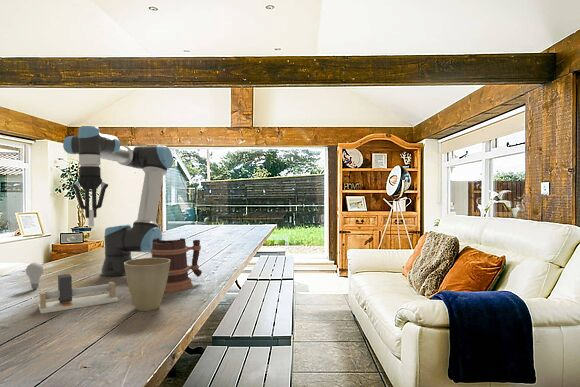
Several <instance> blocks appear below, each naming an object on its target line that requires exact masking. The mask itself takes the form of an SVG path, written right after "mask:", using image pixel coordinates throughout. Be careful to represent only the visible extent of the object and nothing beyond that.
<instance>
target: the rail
mask: <svg viewBox="0 0 580 387" xmlns="http://www.w3.org/2000/svg"><path fill="white" fill-rule="evenodd" d="M116 289H117V288H116V283H115V282H114V281H108V283H104V284H99V285H98V284H97V285H91V286H83V287H75V288H74V287H73V288H72V297H73V296H78V295H81V297H75V298H72V301H70V302H63V303H60V302H59V300H55V301H47V300H53V299H58V298H60V290H59V291H58V290H51V291H45V290H39V303H38V309H39V313H40V314H48V313H53V312H58V311H59V312H60V311H66V310H73V309H79V308H84V307H85V308H86V307H92V306H96V305H103V304H108V303H110V304H111V303H115V302H117V303H118V302H119V298H118V297H117V296H116V295H117V293H116ZM99 292H101V293H102V292H108V293H102V294H97V295H89V296H82V295H87V294H94V293H99Z"/></svg>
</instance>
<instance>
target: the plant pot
mask: <svg viewBox="0 0 580 387" xmlns="http://www.w3.org/2000/svg"><path fill="white" fill-rule="evenodd" d="M124 267H125V273H126V275H125V278H126V283H127V286H128V290H129V294H130V296H131V299H132V302H133V305H134V307H135V309H136V310H137V311H139V312H140V311H141V312H149V311H155V310H157V309H159V308H160V305H161V302H162V299H163V297H164V293H165V292H164V291H165V287H166V283H167V279H168V274H169V267H170V260H169V259H165V258H152V257H141V258H135V259H132V260H129V261H126V262H124Z"/></svg>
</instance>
